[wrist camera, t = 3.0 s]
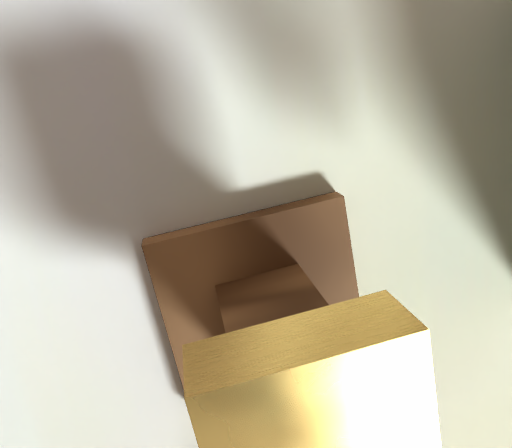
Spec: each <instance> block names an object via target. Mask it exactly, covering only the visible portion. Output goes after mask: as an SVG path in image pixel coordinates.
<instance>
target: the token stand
mask: <svg viewBox="0 0 512 448" xmlns="http://www.w3.org/2000/svg"><path fill="white" fill-rule="evenodd" d="M142 249H143V253H144V256H145V260H146V263H147V266H148V270H149V273H150V277H151V280H152V283H153V287H154V290H155V294H156V297H157V300H158V304H159V307H160V311H161V314H162V317H163V321H164V324H165V328H166V331H167V334H168V338H169V341H170V345H171V348H172V351H173V355H174V358H175V362H176V365H177V369H178V372H179V375H180V379H181V382H182V386H183V389H184V376H183V351H182V345H184V344H188V343H192V342H195V341H199V340H203V339H206V338H210V337H214V336H217V335H221V334H225V333H229V332H232V331H236V330H240V329H243V328H247V327H251V326H254V325H258V324H262V323H265V322H269V321H273V320H276V319H280V318H284V317H288V316H291V315H295V314H299V313H302V312H306V311H310V310H313V309H317V308H321V307H324V306H328V305H332V304H335V303H339V302H343V301H347V300H350V299H354V298H358V297H359V293H358V287H357V280H356V274H355V267H354V260H353V254H352V247H351V240H350V234H349V227H348V220H347V214H346V207H345V200H344V196H343V195H341V194H339V193H338V192H333V193H328V194H324V195H320V196H316V197H312V198H308V199H304V200H300V201H296V202H292V203H288V204H283V205H279V206H275V207H271V208H267V209H263V210H259V211H255V212H251V213H247V214H242V215H238V216H234V217H230V218H226V219H222V220H218V221H214V222H210V223H206V224H202V225H197V226H193V227H189V228H185V229H181V230H177V231H173V232H169V233H165V234H161V235H156V236H152V237H148V238H144V239H143V241H142Z"/></svg>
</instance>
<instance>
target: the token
mask: <svg viewBox="0 0 512 448" xmlns="http://www.w3.org/2000/svg"><path fill="white" fill-rule="evenodd" d="M182 351H183V376H184V399H185V403H186V406H187V409H188V413H189V416H190V419H191V423H192V426H193V430H194V433H195V436H196V440H197V443H198V447H199V448H441V440H440V430H439V421H438V411H437V401H436V391H435V382H434V372H433V362H432V353H431V343H430V333H429V329H428V328H427V327H426V326H425V325H424V324H423V323H422V322H420V321H419V320H418V319H417V318H416V317H415V316H414V315H413V314H412V313H411V312H410V311H408V310H407V309H406V308H405V307H404V306H403V305H402V304H401V303H400V302H399V301H397V300H396V299H395V298H394V297H393V296H392V295H391V294H390V293H389V292H388V291H387V290H383V291H380V292H376V293H372V294H369V295H365V296H361V297H358V298H354V299H350V300H347V301H343V302H339V303H335V304H332V305H328V306H324V307H321V308H317V309H313V310H310V311H306V312H302V313H299V314H295V315H291V316H288V317H284V318H280V319H276V320H273V321H269V322H265V323H262V324H258V325H254V326H251V327H247V328H243V329H240V330H236V331H232V332H229V333H225V334H221V335H217V336H214V337H210V338H206V339H203V340H199V341H195V342H192V343H188V344H184V345H182Z"/></svg>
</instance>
